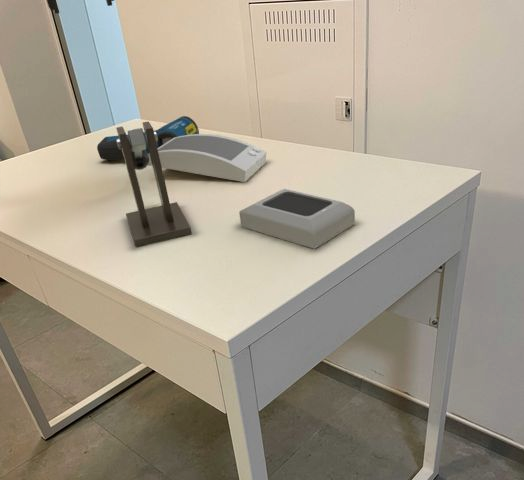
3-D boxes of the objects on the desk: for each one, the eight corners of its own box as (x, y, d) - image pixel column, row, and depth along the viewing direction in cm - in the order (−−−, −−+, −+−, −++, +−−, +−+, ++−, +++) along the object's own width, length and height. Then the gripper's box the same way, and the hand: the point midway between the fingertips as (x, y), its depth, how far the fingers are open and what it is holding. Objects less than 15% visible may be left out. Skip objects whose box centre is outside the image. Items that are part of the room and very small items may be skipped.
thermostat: (247, 183, 103) (243, 152, 99) (151, 179, 110) (144, 150, 107) (267, 163, 111) (264, 134, 107) (177, 160, 118) (171, 133, 115)
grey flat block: (279, 183, 90) (354, 200, 81) (281, 205, 92) (354, 224, 83) (238, 204, 85) (313, 224, 76) (241, 226, 87) (314, 249, 78)
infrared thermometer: (130, 149, 133) (203, 143, 126) (100, 168, 123) (178, 162, 116) (121, 122, 129) (197, 114, 122) (91, 139, 120) (170, 132, 112)
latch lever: (131, 174, 94) (125, 153, 93) (151, 169, 94) (146, 148, 94) (128, 151, 81) (121, 127, 80) (152, 146, 81) (145, 122, 81)
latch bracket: (127, 219, 94) (101, 124, 85) (178, 208, 96) (157, 113, 87) (135, 247, 85) (107, 143, 76) (191, 233, 87) (170, 130, 77)
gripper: (-3, -118, 76) (39, 17, 85) (100, -129, 78) (129, 3, 88) (1, -112, 82) (40, 15, 91) (97, -122, 84) (124, 1, 94)
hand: (84, 9), depth 90 cm, fingers open, 8 cm apart
